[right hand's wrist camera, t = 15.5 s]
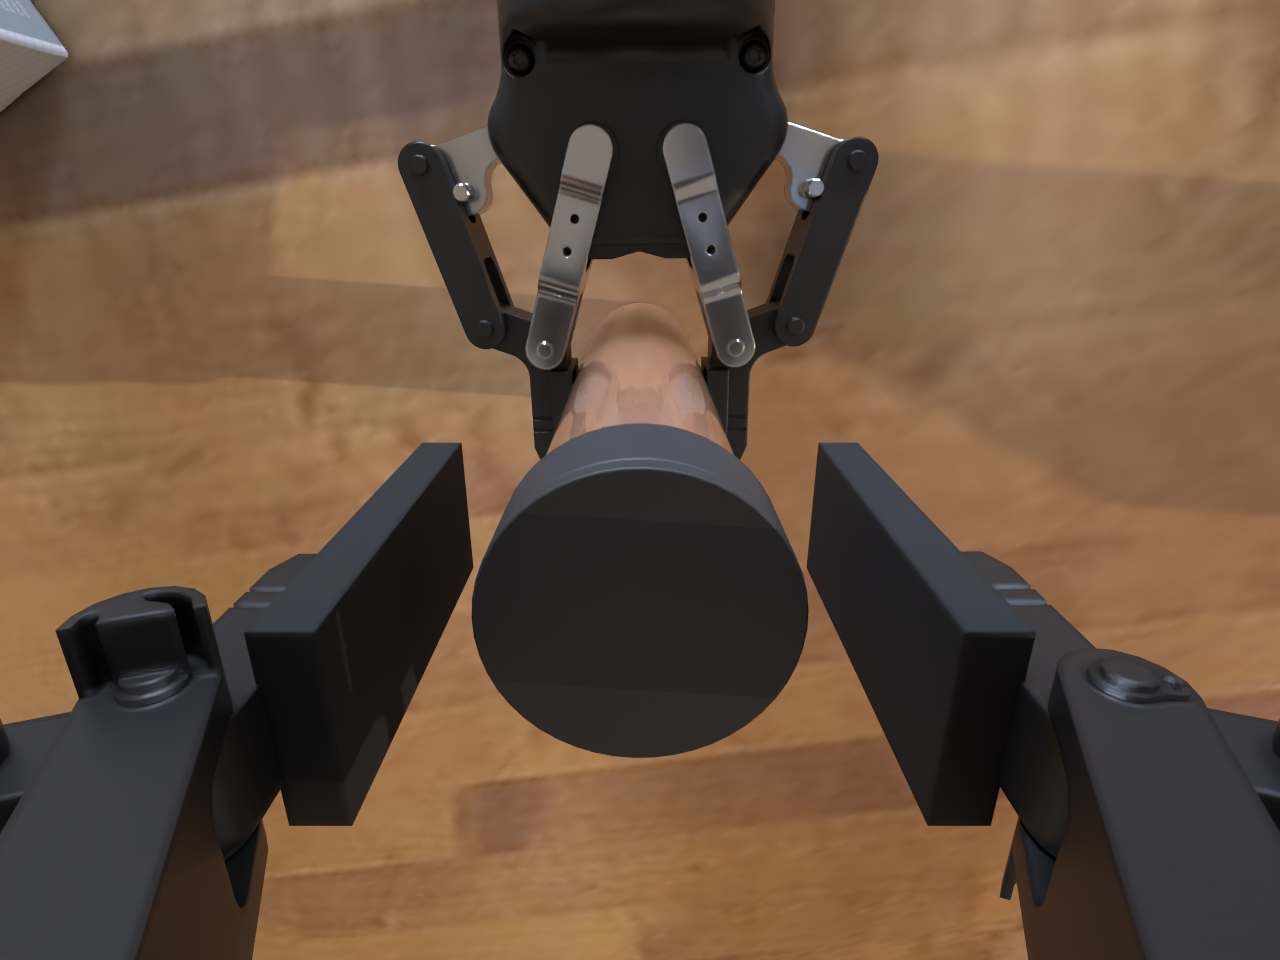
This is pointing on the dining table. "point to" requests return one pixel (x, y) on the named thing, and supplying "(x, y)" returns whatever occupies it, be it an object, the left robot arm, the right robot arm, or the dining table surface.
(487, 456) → the dining table surface
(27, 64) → the hard drive box
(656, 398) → the brown cylinder
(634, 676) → the lid
